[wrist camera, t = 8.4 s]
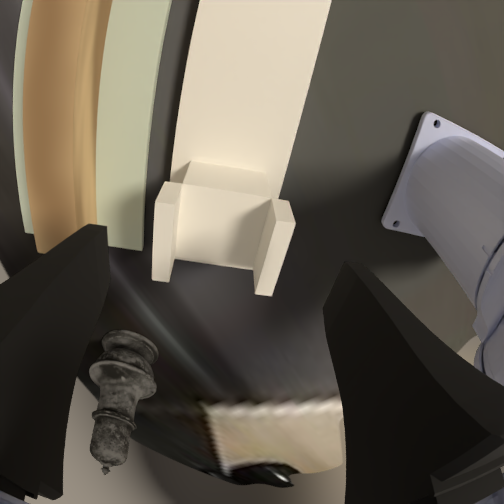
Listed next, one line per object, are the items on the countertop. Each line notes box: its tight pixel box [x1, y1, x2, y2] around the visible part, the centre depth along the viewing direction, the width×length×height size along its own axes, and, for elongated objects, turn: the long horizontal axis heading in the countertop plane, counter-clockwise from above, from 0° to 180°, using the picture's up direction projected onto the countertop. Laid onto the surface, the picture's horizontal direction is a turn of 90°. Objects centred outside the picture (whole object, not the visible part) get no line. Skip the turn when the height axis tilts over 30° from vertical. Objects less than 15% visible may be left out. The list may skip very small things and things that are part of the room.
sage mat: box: [13, 0, 172, 251], centre depth 12 cm, size 9×26×1 cm, turn 168°
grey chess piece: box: [89, 330, 158, 475], centre depth 22 cm, size 6×6×12 cm
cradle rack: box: [152, 0, 331, 296], centre depth 11 cm, size 6×26×6 cm, turn 168°
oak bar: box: [23, 0, 113, 254], centre depth 10 cm, size 3×24×3 cm, turn 168°
